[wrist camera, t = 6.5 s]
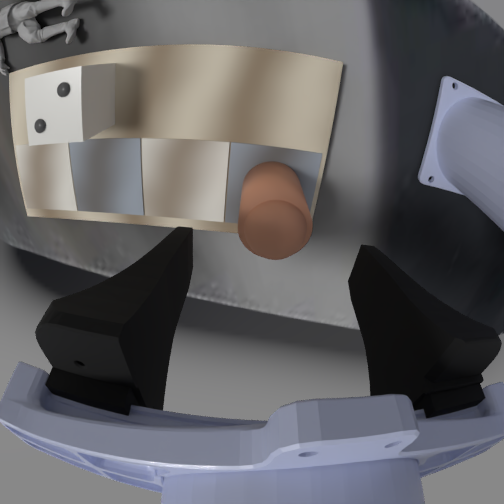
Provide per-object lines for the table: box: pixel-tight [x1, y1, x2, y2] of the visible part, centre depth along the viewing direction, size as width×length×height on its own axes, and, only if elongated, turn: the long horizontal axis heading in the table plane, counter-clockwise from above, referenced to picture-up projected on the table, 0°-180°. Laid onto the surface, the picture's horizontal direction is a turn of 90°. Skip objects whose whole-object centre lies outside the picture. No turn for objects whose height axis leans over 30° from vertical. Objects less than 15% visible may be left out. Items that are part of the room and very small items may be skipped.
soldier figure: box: [0, 0, 80, 76], centre depth 10 cm, size 8×5×12 cm
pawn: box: [238, 161, 313, 260], centre depth 16 cm, size 4×4×6 cm
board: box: [9, 45, 343, 233], centre depth 17 cm, size 22×12×1 cm, turn 84°
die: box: [25, 63, 116, 146], centre depth 13 cm, size 4×4×4 cm
